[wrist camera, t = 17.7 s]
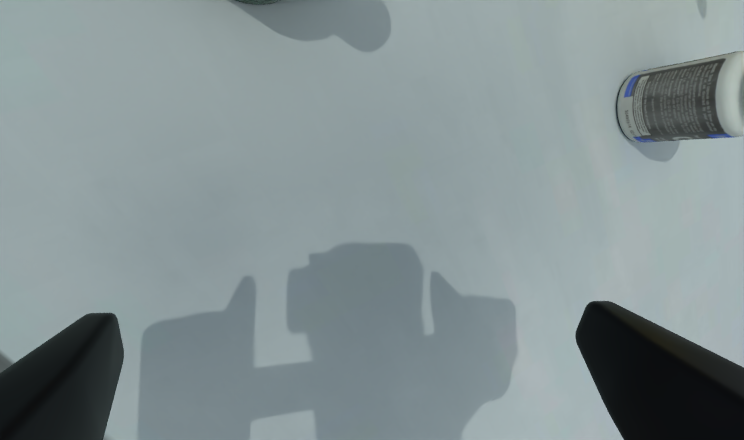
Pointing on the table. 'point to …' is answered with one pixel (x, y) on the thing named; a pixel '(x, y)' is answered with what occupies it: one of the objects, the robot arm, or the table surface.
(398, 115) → the table surface
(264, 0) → the green cylindrical container
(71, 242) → the table surface
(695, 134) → the pill bottle
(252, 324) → the table surface
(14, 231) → the table surface
